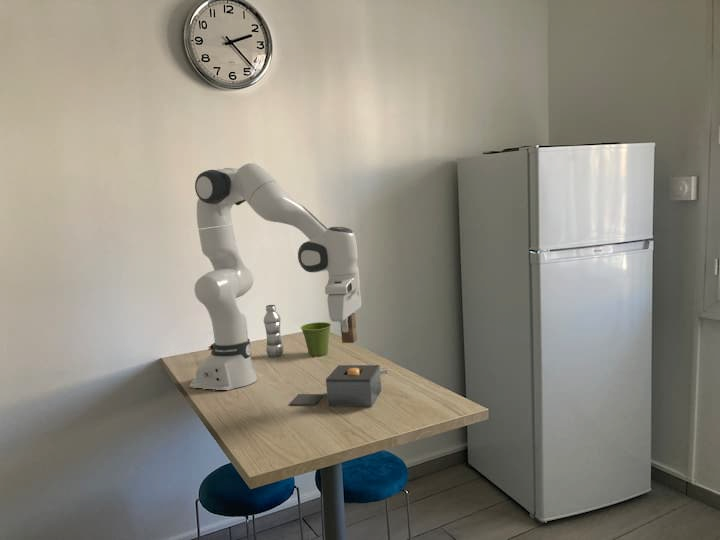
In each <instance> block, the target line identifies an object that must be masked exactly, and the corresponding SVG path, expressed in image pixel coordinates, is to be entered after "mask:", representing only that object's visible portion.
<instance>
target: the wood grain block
mask: <svg viewBox="0 0 720 540" xmlns="http://www.w3.org/2000/svg"><path fill="white" fill-rule="evenodd" d="M347 322H348V325H349V331H348V332H342V326H341V325H340V333H341V343H342V344H354V343H355V342H357V340H358V334H357V324H356V323H357V322H356V312H355V313H353V314H351V315H350V316H349V317H348V320H347Z"/></svg>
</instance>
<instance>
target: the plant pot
mask: <svg viewBox="0 0 720 540" xmlns="http://www.w3.org/2000/svg"><path fill="white" fill-rule="evenodd" d="M331 327H332V324H331V323H330V322H321V321H318V322H310V323H306V324H303V325H301V326H300V329H301V330H302V334H303V336H304V340H305V343H306V348H307V352H308V354H309V356H311V357H313V356H316V357H318V356H319V357H323V356H322V355H324V356H326V355H327V354H328V352H329V341H330V331H331ZM325 354H326V355H325Z"/></svg>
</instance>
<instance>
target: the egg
mask: <svg viewBox="0 0 720 540" xmlns="http://www.w3.org/2000/svg"><path fill="white" fill-rule="evenodd" d="M347 375H360V372H359V368H350V369H348V370H347Z"/></svg>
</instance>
